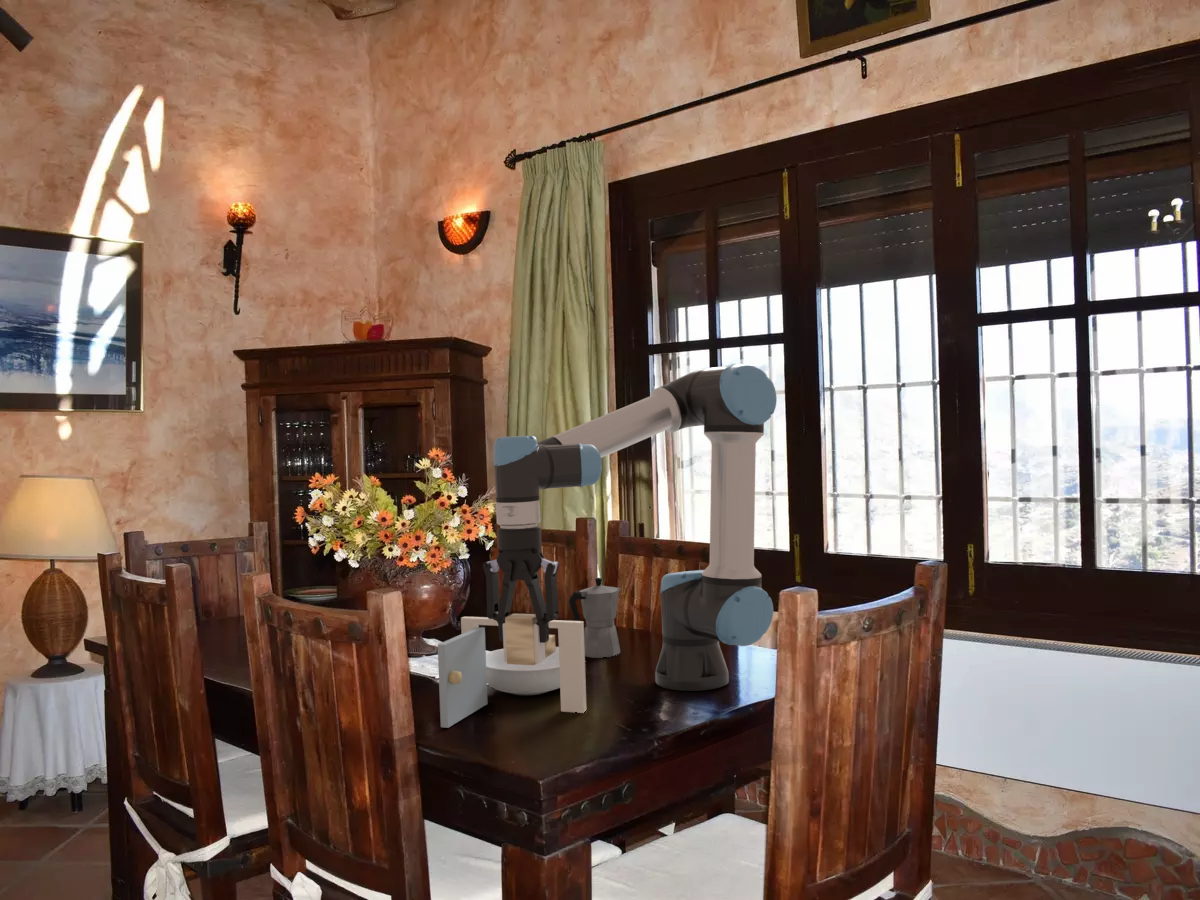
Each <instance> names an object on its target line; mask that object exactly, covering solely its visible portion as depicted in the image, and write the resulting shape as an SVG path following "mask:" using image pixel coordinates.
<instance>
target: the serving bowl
mask: <svg viewBox="0 0 1200 900" xmlns="http://www.w3.org/2000/svg"><path fill="white" fill-rule="evenodd" d="M555 648H556V651H555V652H554V653H552V654H551V655H549V656H548V657H546V658H545V660H543V661H542V662H540V663H537V664H535V665H516V664H507V662H506V661H504V648H501V649H500V648H499V649H495V650H492V651H489V652H486V676H487V686H490V687H491V688H493V689H495V690H497V691H498V692H504V693H507V694H512V695H516V696H536V695H541V694H542V695H543V694H545V693H548V692H551V691H554V690H559V689H560V667H559V646H555Z"/></svg>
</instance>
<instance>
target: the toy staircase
mask: <svg viewBox="0 0 1200 900" xmlns="http://www.w3.org/2000/svg"><path fill="white" fill-rule="evenodd" d="M536 622H537V619H536V615H535V613H512V614H510V615H509V616H508V617H505V626H506V650H507V664H516V665H535V664H537V663H535V651H534V626H533V625H534V624H536ZM555 647H556V635H555V634H549V640H548V641H547V642H545V658H546V657H548V656H549V655H551V654H552V653H554V652H555V651H556V648H555Z"/></svg>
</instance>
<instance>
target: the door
mask: <svg viewBox="0 0 1200 900" xmlns="http://www.w3.org/2000/svg"><path fill="white" fill-rule="evenodd" d="M485 629H486V627H484V626H479V627H477V628H474V629H472V630H470V631H468V632H465V633H463V634H462V633H461V634H459V635H457V636H456V635H455V636H454V637H452V638H450V639H447V640H444V641H443V642H441V643H438V644H437V657H438V659H437V663H438V667H437V668H438V687H439V688H438V690H439V712H440V713H439V714H440V715H439V717H440V728H446V729H447V728H448V729H449V728H450V727H452V726H453V725H455V724H457V723H459V722H460V721H462V720H463V719H465V718H467V717H469V716H470V715H472V714H473V713H475V712H477V711H478V710H480V709H482V708H483V707H484V706H487V705H488V684H487V676H486V653H487V652H486V650H487V649H486V630H485Z"/></svg>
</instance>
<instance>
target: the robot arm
mask: <svg viewBox="0 0 1200 900" xmlns="http://www.w3.org/2000/svg"><path fill="white" fill-rule="evenodd" d="M776 406H777V392H776V387H775V384H774V382H773V380H772V379H771V378H770V377H769V376H768V374H767V373H766V372H765V371H764V369H762V368H760V367H758V366H756V365H754V364H746V363H744V364H741V363H737V364H734V363H733V364H730V365H721V366H715V367H705V368H700V369H696V370H693V371H692V372H690V373H688V374H685V375H683V376H680V377H678V378H676V379H674V380H673V381H670V382H668V383H666V384H663V385H661V386H659V387H655V388H654V389H653V390H652V392H651V394H650V396H647V397H645V398H642V399H640V400H638V401H636V402H633V403H631V404H628V405H626V406H624V407H621V408H619V409H615V410H613V411H611V412H609V413H606V414H603V415H602V416H599V417H597V418H594V419H591V420H589V421H587V422H586V421H585V422H583V423H582V424H579V425H577V426H574V427H572V428H570V429H567V430H565V431H562V432H559V433H557V434H555V435H551V437H548V438H545V439H543V440H540V441H538V439H537V437H536V436H535V435H517V436H515V435H514V436H499V437H498V438H496V439H495V441H494V444H493V462H492V465H493V472H494V487H495V489H494V491H495V509H496V510H495V513H496V514H495V515H496V525H498V526H500V527H498V528H497V530H496V536H497V538H496V539H497V540H496V541H497V548H498V549H497V550H498V554H497V557H496V559H493V560H489V561H485V562H483V563H482V568H483V571H484V574H485V581H486V582H485V586H486V588H485V589H486V617H488V618H489V619H493V620H496V621H497V622H498V626H497V630H498V631H497V632H498V640H499V641H500V642H503V643H502V644H503V649H504V661H506V662H507V650H506V626H505V617H508V616H510V615H511V608H512V604H513V601H514V600H513V599H514V595H515V589H516V584H517V583H518V580H519V581H523V582H524V584H525V586H526V588H527V591H528V594H529V597H530V600H531V604H532V607H533V611H534V614H535V615H536V619H537V622H536V624H534V625H533V626H534V651H535V663H540V662H542V661H543V660H545V642H547V641H548V640H549V635H550V628H549V622H550V621H552V620H556V619H558V618H559V615H560V614H559V613H560V612H559V598H558V597H559V596H558V595H559V594H558V580H557V578H558V577H557V576H558V575H557V574H558V570H559V567H560V563H559V561H557V560H555V561H552V560H549V559H547V558H545V556H544V555H543V552H542V546H543V545H542V529H541V527H540V526H539V525H538V524H540V523H541V507H540V506H541V504H540V490H548V489H561V488H563V489H564V488H565V489H566V488H575V487H576V488H577V487H578V488H583V487H585V486H586V487H587V486H592V485H595V484H596V483H597V482H598V481H599V480H600V478H601V476H602V470H603V463H602V462H603V461H602V458H605V457H607V456H609V455H612V454H613V453H616V452H619V451H621V450H622V449H626V448H628V447H630V446H632V445H635V444H637V443H639V442H641V441H644V440H647V439H648V438H651V437H654V436H655V435H658V434H660V433H663V432H668V433H676V432H677V431H679V430H683V429H686V428H690V427H698V426H703V434H704V436H705V437H706V438H707V439H708V440H709V441H710V443H711V453H710V454H711V455H710V457H711V459H710V461H711V462H710V464H711V465H710V467H711V468H710V512H709V514H710V515H709V516H710V518H709V522H710V523H709V525H710V526H709V564H708V566H707V567H705V569H698V570H688V571H679V572H671V573H670V572H669V573H667V574H664V575H663V576H662V578H661V582H660V591H659V593H660V605H661V624H662V625H661V627H662V628H661V630H662V631H661V633H662V648H661V651H660V654H659V658H658V662H657V665H656V668H655V684H656V685H657V686H659V687H661V688H662V689H663V688H664V689H667V690H673V691H674V690H675V691H683V692H691V691H692V692H694V691H695V692H698V691H701V692H702V691H709V690H715V689H718V688H722V687H724V686H726V685H728V684H729V682H730V681H729V670H728V667H727V663H726V660H725V658H724V654H723V652H722V649H721V646H720V642H721V643H723V644H724V645H725V644H726V645H728V646H737V647H746V646H747V647H748V646H751V645H753V644H755V643H757V642H758V641H760V640H761V639H762V637H763V636H764V635H765V634H766V633H767V632H768V630H769V628H770V626H771V624H772V621H773V617H774V604H773V601H772V598H771V597H770V596H769V594H768V592H767V591H765V590H764V589H763V588H762V577H763V576H762V573H761V572H760V571H759V570H758V569H757V568H756V567H755V511H756V510H755V508H756V507H755V506H756V503H755V501H756V500H755V499H756V455H757V453H756V445H757V443H758V441H759V440H760V439H761V438H762V437H763V436H764V434H765V429H764V428H765V423H766V422H767V421H768V420H770V419H771V417H772V416H771V415H773V414H774V413H775V410H776ZM541 568H542V571H543V573H544V593H545V598H544V594H543V591H542V588H541V584H540V582H541V580H540V576H539V571H540V570H541ZM499 569H501V571H502V572H503V573H504V574H503V579H502V589H501V595H500V580H499Z"/></svg>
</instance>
